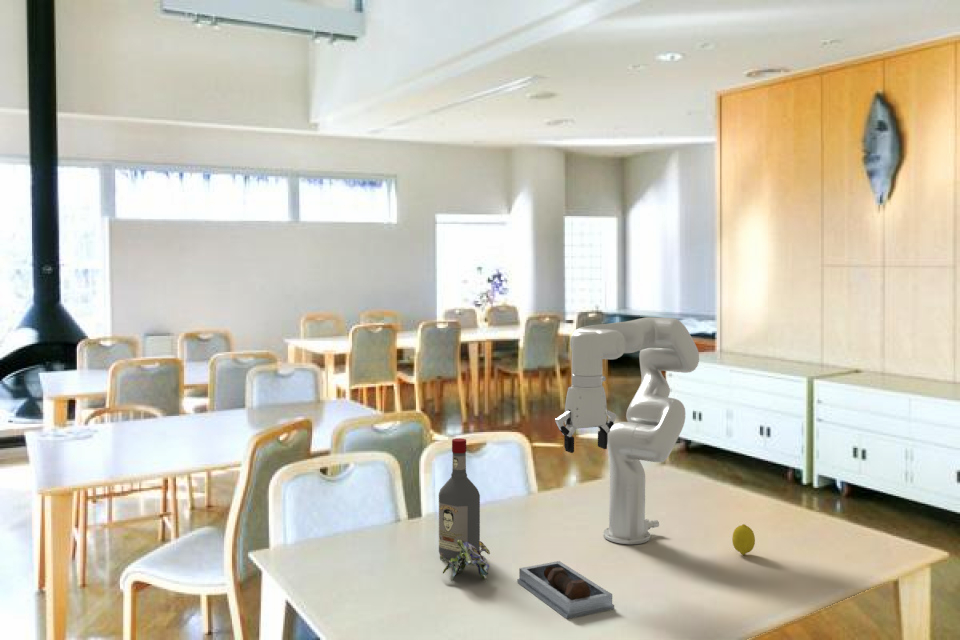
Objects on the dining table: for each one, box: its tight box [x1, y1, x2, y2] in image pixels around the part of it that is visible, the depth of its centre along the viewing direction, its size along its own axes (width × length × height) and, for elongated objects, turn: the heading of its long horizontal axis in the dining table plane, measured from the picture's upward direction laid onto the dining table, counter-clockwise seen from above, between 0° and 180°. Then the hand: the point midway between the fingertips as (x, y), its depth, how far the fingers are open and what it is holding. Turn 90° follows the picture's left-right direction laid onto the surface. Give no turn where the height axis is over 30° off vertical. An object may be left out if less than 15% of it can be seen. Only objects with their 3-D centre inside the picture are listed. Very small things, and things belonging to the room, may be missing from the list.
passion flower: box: [439, 540, 491, 582], centre depth 195 cm, size 11×11×12 cm
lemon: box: [731, 523, 756, 556], centre depth 211 cm, size 6×6×8 cm
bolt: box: [544, 566, 591, 600], centre depth 185 cm, size 6×5×15 cm
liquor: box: [438, 437, 481, 561], centre depth 210 cm, size 9×9×30 cm
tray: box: [516, 560, 615, 620], centre depth 186 cm, size 12×22×3 cm, turn 26°
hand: (586, 449), depth 205 cm, fingers open, 9 cm apart
